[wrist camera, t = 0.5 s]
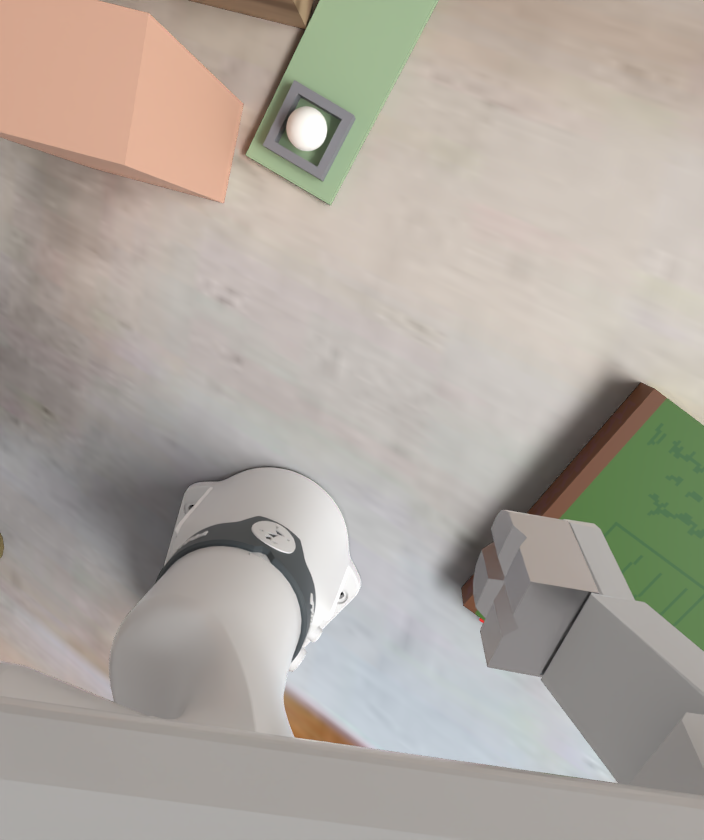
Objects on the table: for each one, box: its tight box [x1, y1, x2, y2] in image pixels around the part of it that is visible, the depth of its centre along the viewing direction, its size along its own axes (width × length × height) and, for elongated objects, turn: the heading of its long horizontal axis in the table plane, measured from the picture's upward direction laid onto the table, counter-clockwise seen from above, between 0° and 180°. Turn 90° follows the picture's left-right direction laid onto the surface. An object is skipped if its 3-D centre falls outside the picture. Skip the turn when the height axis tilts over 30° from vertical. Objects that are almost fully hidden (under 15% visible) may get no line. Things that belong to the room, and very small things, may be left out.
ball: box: [286, 106, 327, 151], centre depth 49 cm, size 3×3×3 cm
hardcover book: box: [461, 383, 704, 651], centre depth 55 cm, size 25×19×4 cm
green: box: [246, 0, 439, 205], centre depth 49 cm, size 18×8×2 cm, turn 150°
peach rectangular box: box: [0, 0, 243, 203], centre depth 44 cm, size 8×12×18 cm, turn 75°
